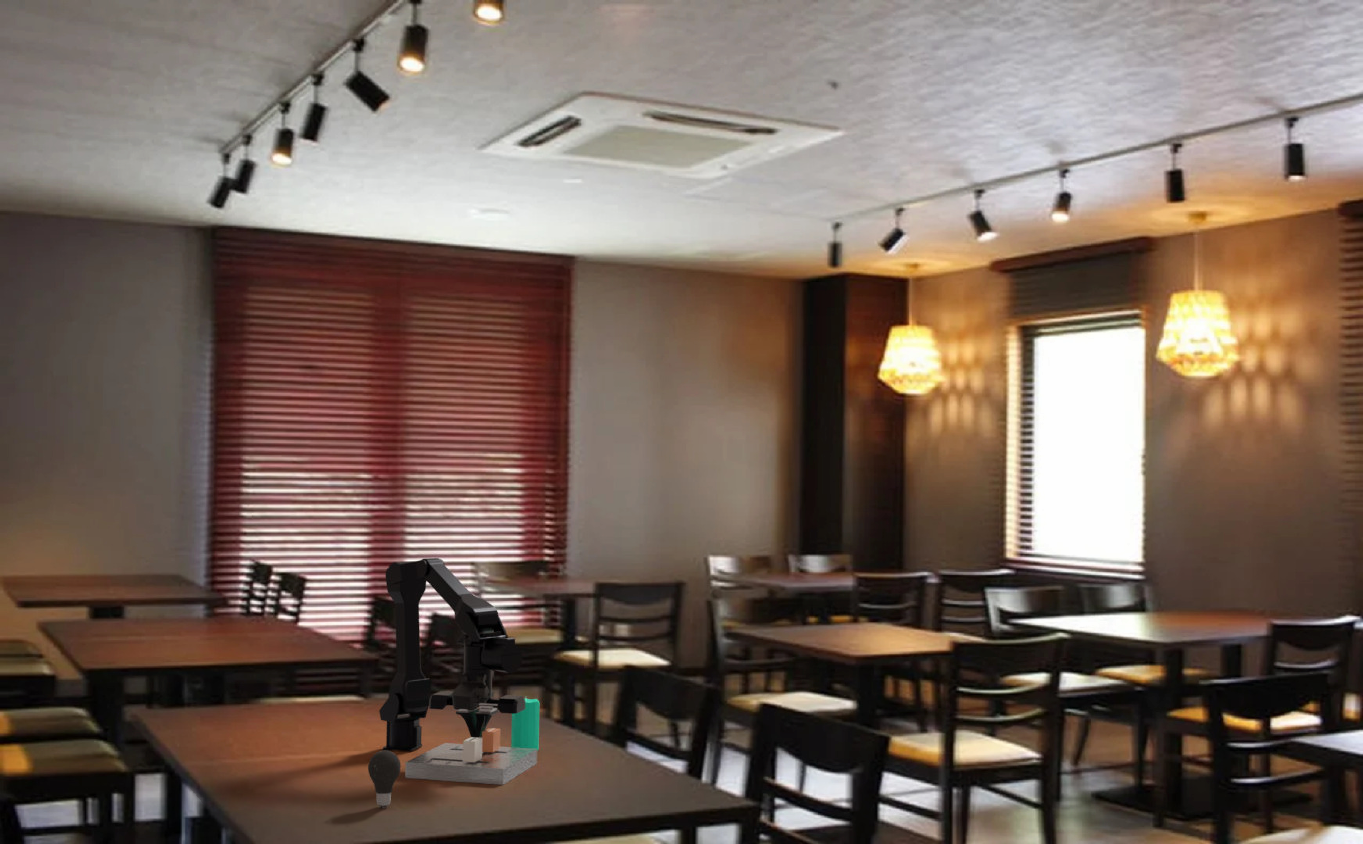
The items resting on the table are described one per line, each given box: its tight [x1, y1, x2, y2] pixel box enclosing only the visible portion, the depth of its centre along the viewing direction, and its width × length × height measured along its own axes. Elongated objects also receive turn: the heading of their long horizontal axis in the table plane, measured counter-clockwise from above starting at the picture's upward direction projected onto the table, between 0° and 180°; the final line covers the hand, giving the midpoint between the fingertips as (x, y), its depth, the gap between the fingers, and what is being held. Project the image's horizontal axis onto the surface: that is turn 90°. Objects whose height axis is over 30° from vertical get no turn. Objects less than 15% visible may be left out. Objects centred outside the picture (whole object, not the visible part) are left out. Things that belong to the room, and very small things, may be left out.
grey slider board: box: [404, 742, 538, 786], centre depth 280 cm, size 20×20×3 cm
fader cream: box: [462, 736, 482, 763], centre depth 275 cm, size 2×4×7 cm, turn 168°
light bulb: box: [367, 750, 401, 809], centre depth 249 cm, size 6×6×10 cm
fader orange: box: [482, 727, 501, 753], centre depth 284 cm, size 2×4×7 cm, turn 167°
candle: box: [510, 697, 540, 752], centre depth 302 cm, size 6×6×12 cm
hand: (476, 745), depth 285 cm, fingers closed
